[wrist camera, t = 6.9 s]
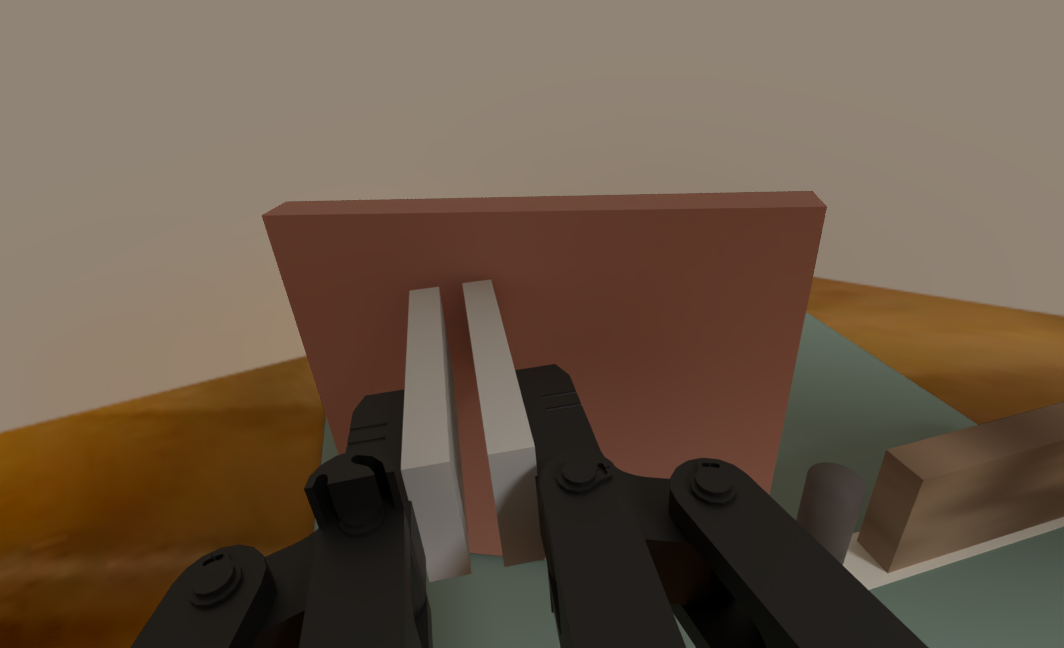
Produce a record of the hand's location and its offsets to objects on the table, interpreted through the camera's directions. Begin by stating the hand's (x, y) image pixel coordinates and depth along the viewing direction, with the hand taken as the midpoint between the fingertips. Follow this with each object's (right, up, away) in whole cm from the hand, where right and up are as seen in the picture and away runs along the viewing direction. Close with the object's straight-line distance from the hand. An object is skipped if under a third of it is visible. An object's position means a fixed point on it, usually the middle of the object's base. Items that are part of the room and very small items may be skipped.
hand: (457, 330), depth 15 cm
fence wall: (+17, -8, +5) cm, 20 cm away
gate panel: (+3, -8, +6) cm, 10 cm away
